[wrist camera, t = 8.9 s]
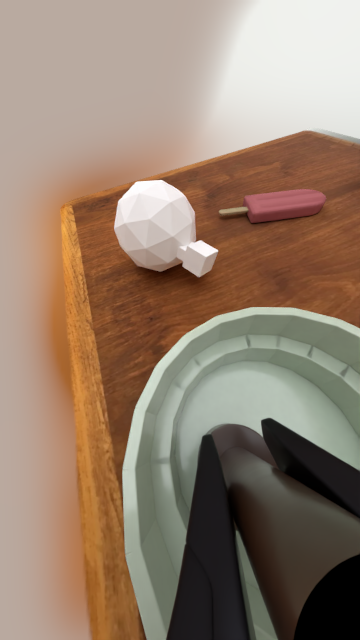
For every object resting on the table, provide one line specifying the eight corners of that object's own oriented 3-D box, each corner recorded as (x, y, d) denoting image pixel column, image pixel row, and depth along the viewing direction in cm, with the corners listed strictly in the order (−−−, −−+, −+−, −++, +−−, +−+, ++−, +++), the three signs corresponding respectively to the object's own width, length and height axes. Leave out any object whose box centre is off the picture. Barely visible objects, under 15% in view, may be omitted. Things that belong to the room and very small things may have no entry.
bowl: (491, 597, 8) (915, 839, 3) (180, 697, 8) (144, 1156, 3) (302, 328, 17) (347, 283, 12) (143, 368, 16) (117, 339, 11)
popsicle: (216, 198, 28) (316, 185, 27) (215, 209, 29) (311, 197, 28) (222, 217, 25) (334, 203, 24) (221, 227, 26) (327, 214, 25)
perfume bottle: (101, 257, 22) (173, 313, 19) (89, 163, 16) (197, 220, 12) (152, 241, 28) (215, 282, 24) (159, 165, 21) (249, 206, 17)
